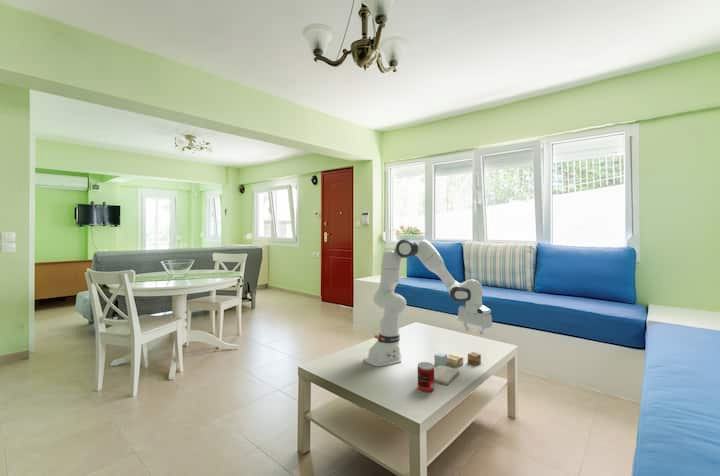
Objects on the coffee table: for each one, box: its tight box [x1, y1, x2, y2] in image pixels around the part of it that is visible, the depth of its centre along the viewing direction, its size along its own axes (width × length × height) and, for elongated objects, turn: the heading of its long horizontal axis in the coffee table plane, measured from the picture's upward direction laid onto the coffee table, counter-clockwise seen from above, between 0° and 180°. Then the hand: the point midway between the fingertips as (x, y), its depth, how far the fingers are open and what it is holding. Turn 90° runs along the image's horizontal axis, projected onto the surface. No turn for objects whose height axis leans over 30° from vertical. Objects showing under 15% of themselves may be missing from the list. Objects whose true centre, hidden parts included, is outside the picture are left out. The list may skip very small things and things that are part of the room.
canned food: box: [417, 361, 435, 393], centre depth 150 cm, size 8×8×11 cm
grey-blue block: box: [433, 351, 448, 367], centre depth 177 cm, size 5×5×6 cm
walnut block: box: [467, 351, 482, 366], centre depth 181 cm, size 5×5×5 cm
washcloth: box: [434, 365, 461, 386], centre depth 163 cm, size 12×18×3 cm, turn 144°
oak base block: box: [447, 353, 464, 368], centre depth 180 cm, size 7×7×4 cm
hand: (474, 332), depth 181 cm, fingers open, 8 cm apart
